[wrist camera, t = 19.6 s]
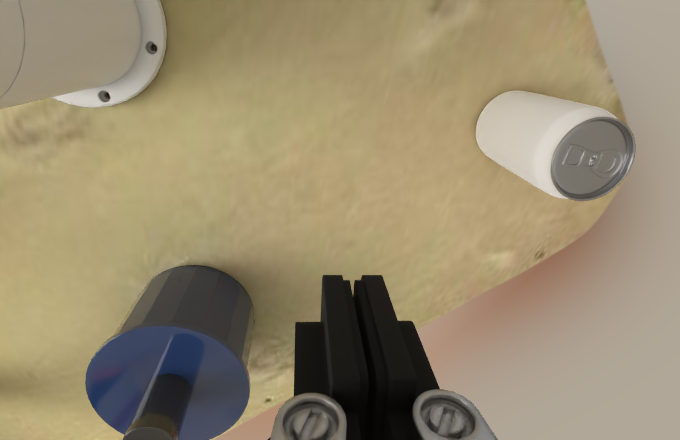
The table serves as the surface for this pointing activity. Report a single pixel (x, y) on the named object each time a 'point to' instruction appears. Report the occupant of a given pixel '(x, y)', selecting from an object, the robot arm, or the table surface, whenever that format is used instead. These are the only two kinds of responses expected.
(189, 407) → the lid
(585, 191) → the can
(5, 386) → the table surface
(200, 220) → the table surface
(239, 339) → the cup
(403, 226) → the table surface
